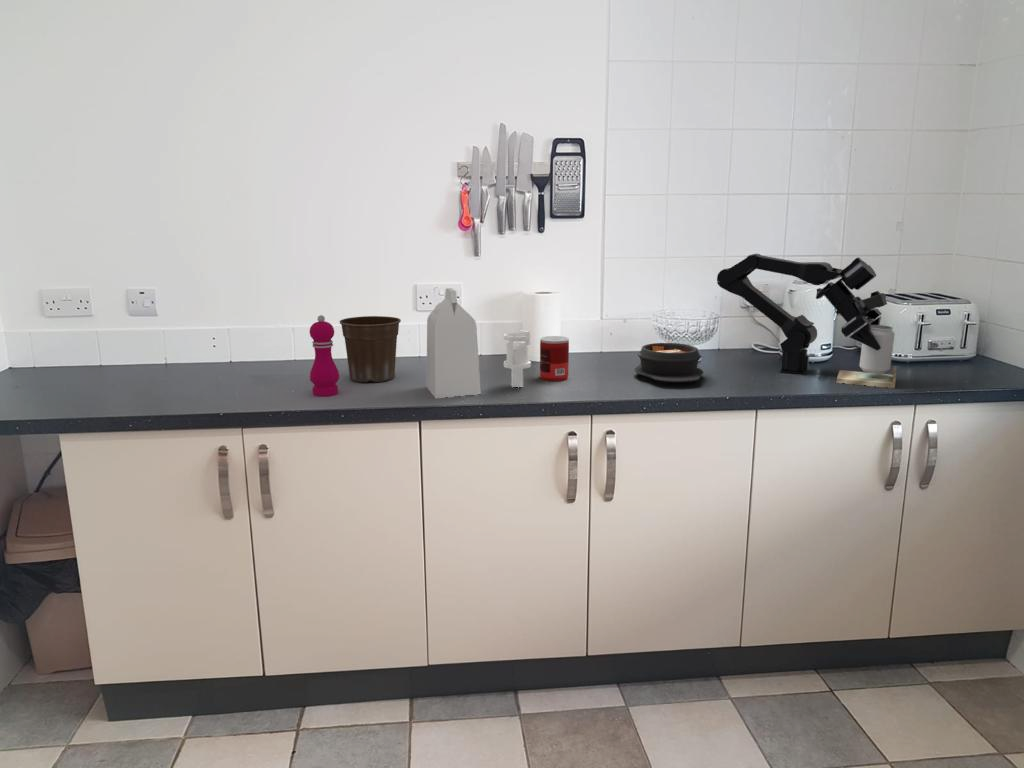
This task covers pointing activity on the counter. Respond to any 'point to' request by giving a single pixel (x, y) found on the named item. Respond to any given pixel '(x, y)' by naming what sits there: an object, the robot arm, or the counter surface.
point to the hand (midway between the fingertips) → (882, 347)
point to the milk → (452, 350)
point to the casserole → (669, 362)
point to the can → (878, 351)
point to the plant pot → (371, 347)
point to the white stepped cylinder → (517, 355)
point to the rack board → (867, 378)
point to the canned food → (554, 358)
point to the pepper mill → (323, 359)
